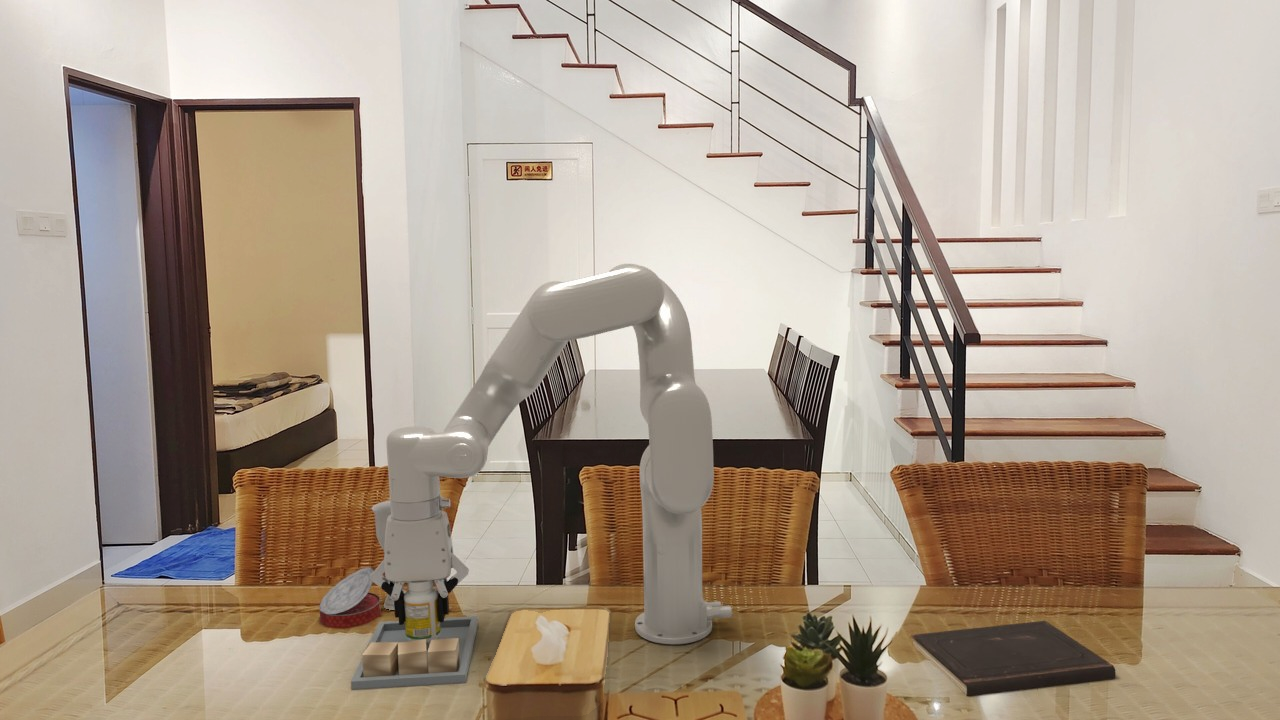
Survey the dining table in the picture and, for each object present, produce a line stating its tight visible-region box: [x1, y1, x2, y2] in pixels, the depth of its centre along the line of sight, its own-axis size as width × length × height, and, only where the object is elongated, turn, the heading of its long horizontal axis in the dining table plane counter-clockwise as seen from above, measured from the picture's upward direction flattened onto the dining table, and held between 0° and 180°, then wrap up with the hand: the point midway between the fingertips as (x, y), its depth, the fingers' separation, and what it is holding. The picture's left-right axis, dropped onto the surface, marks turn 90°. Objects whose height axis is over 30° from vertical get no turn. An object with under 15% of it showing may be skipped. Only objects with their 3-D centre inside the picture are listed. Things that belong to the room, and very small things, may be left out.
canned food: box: [318, 566, 382, 629], centre depth 150 cm, size 11×10×10 cm
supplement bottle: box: [404, 581, 441, 643], centre depth 138 cm, size 5×5×10 cm
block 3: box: [427, 638, 460, 673], centre depth 130 cm, size 4×4×4 cm
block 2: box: [398, 639, 428, 675], centre depth 129 cm, size 4×4×4 cm
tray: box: [350, 615, 479, 691], centre depth 135 cm, size 16×20×2 cm
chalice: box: [371, 500, 407, 611], centre depth 154 cm, size 7×7×18 cm
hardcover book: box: [911, 620, 1117, 697], centre depth 131 cm, size 16×23×2 cm
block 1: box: [361, 642, 399, 677], centre depth 129 cm, size 4×4×4 cm
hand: (422, 618), depth 138 cm, fingers closed on supplement bottle, 5 cm apart
